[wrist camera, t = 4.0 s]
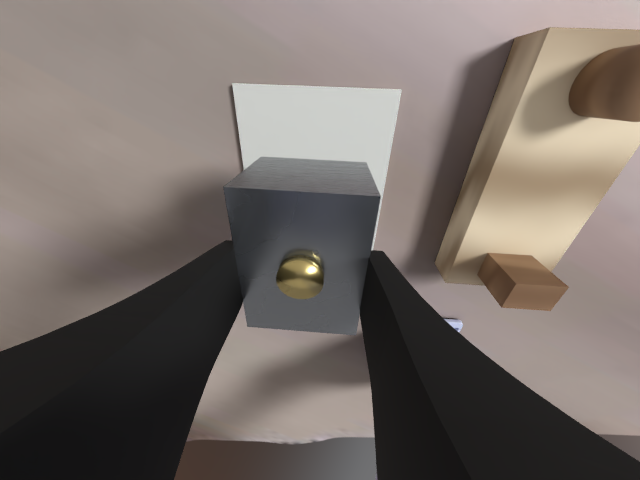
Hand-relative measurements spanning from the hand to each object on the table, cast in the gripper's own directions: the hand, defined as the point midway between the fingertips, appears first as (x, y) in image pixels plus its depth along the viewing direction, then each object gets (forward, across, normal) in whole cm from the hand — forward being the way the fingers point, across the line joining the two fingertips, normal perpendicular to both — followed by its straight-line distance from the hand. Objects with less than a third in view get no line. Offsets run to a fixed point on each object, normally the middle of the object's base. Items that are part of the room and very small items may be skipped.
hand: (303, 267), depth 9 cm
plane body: (+10, -14, -1) cm, 17 cm away
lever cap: (+3, 0, 0) cm, 3 cm away
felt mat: (+10, 0, 0) cm, 10 cm away
